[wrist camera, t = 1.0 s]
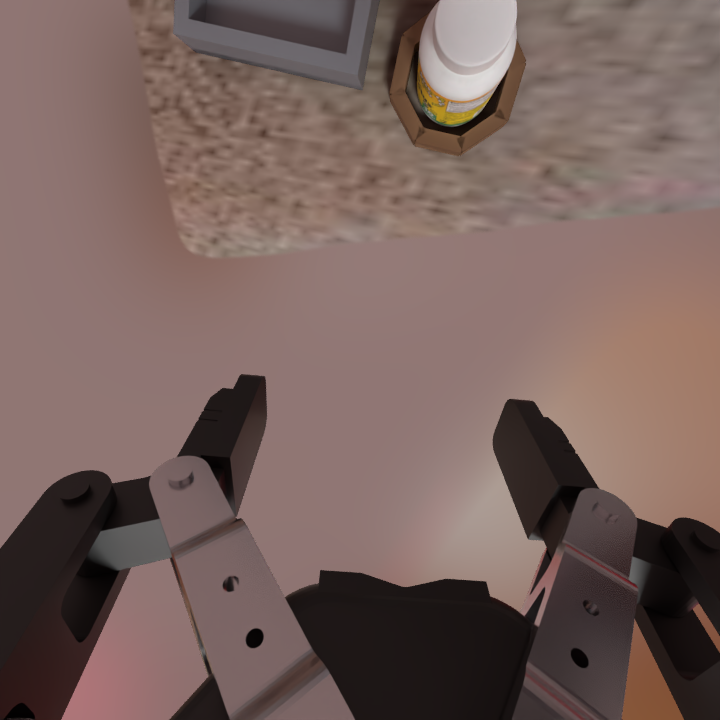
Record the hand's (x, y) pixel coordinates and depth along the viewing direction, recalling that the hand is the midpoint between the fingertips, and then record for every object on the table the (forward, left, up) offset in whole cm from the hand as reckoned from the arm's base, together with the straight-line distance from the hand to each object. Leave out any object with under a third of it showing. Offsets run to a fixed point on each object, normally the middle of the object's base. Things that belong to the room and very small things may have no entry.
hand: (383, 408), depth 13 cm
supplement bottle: (-16, 0, -22) cm, 27 cm away
